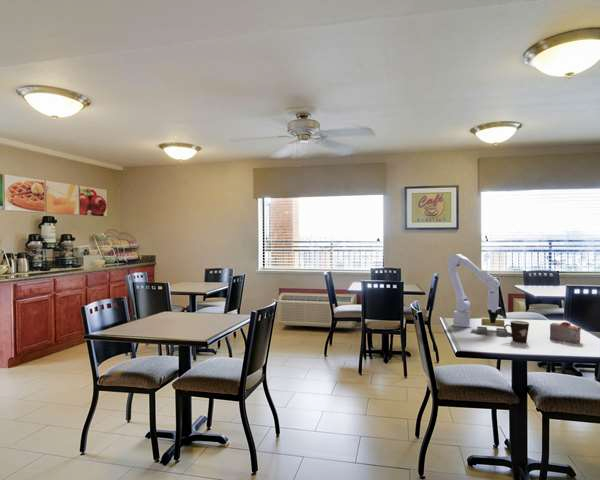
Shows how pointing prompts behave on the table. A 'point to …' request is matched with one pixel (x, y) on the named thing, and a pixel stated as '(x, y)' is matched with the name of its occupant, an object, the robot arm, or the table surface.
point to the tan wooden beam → (487, 323)
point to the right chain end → (502, 332)
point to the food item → (565, 332)
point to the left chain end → (480, 330)
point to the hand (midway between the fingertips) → (492, 322)
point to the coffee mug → (518, 331)
